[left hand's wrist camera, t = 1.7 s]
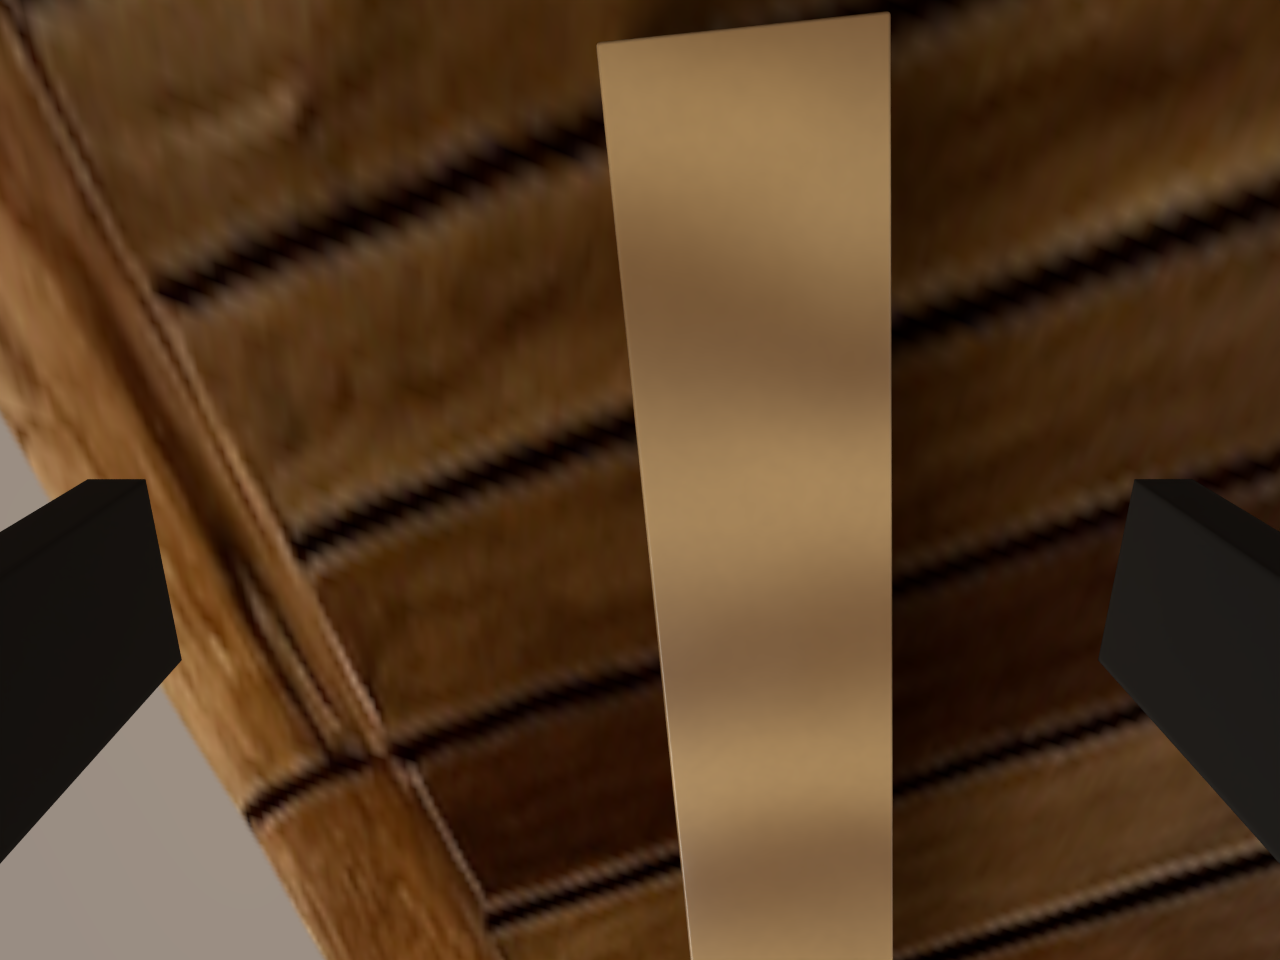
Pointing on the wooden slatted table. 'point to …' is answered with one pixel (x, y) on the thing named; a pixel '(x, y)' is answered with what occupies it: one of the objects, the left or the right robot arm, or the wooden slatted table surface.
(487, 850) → the wooden slatted table surface
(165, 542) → the wooden slatted table surface
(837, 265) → the post
